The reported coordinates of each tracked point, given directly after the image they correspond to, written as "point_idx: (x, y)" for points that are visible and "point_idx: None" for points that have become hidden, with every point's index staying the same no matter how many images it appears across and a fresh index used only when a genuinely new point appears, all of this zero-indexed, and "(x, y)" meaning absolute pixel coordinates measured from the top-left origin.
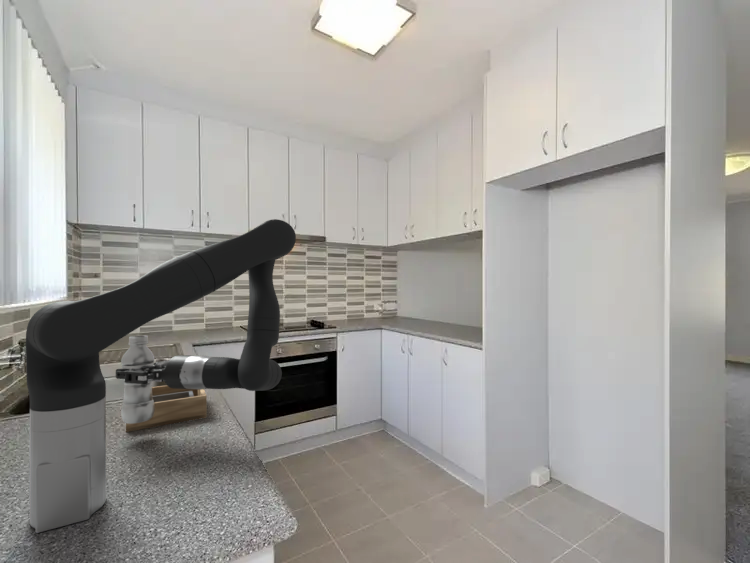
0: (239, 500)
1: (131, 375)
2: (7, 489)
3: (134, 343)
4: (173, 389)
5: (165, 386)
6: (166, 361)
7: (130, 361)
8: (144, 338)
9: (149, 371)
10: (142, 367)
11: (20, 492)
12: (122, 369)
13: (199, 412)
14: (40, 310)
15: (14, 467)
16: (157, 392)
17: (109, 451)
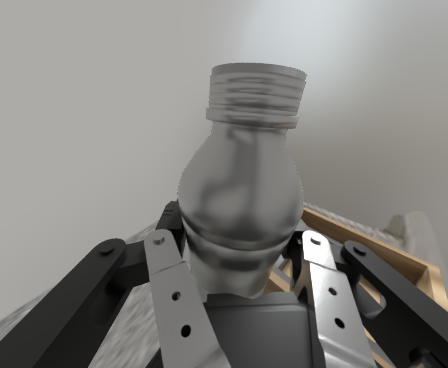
0: None
1: (115, 279)
2: (44, 292)
3: (208, 109)
4: (361, 243)
5: (349, 230)
6: (353, 308)
7: (178, 196)
8: (261, 80)
9: (150, 361)
10: (150, 283)
11: (10, 325)
12: (174, 207)
13: None
14: None
15: (128, 243)
16: (331, 230)
17: (157, 335)
